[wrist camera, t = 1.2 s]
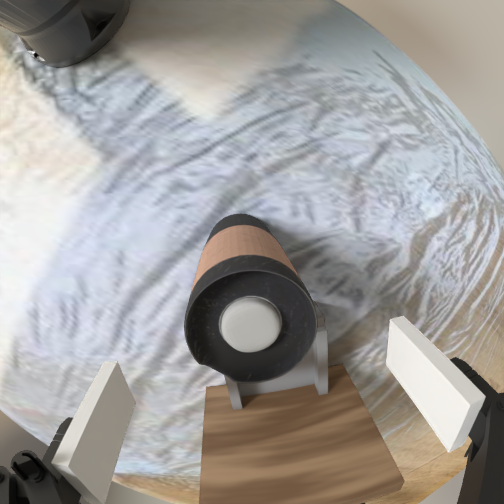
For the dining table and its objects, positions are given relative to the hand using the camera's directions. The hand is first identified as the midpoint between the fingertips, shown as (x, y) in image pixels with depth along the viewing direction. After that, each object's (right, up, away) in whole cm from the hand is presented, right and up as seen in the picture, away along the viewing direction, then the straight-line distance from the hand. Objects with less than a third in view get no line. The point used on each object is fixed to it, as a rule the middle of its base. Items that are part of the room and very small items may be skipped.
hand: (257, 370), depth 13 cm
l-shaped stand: (+2, -8, +26) cm, 28 cm away
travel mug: (-2, +6, +22) cm, 23 cm away
